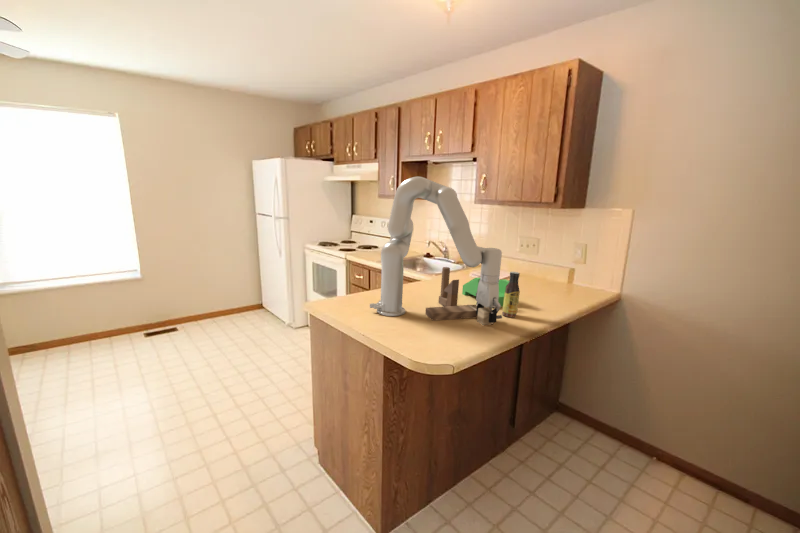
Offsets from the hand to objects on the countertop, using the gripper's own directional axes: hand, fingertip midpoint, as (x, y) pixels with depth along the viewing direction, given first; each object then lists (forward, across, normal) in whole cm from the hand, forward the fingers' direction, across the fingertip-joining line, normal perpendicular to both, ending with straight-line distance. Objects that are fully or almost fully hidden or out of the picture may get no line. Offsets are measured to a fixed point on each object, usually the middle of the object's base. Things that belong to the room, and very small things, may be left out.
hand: (485, 318), depth 148 cm
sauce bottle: (+2, -6, +16) cm, 17 cm away
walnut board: (+2, -11, -7) cm, 13 cm away
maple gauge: (+2, 0, +2) cm, 3 cm away
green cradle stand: (+3, -30, +19) cm, 36 cm away
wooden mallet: (+2, -24, -6) cm, 25 cm away
